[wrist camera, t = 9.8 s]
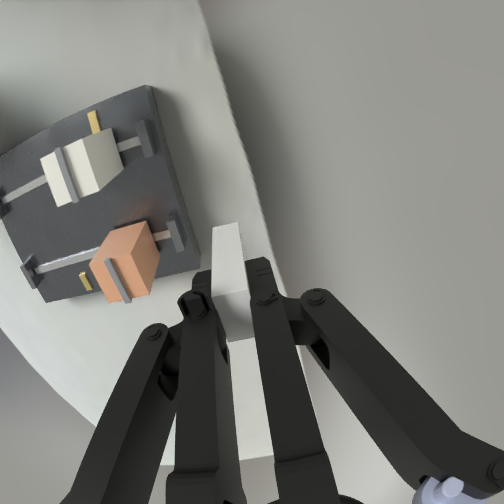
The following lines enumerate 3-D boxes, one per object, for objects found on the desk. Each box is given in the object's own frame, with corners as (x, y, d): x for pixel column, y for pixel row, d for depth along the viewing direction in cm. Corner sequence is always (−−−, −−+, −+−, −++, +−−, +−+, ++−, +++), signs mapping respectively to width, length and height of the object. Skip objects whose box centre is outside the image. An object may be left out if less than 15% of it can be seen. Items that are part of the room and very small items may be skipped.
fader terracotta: (109, 229, 20) (86, 266, 16) (146, 219, 20) (128, 254, 15) (126, 266, 21) (108, 307, 17) (160, 257, 21) (149, 299, 17)
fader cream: (73, 141, 16) (36, 158, 12) (110, 126, 16) (79, 137, 12) (87, 183, 18) (56, 210, 14) (124, 170, 18) (98, 194, 14)
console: (-5, 162, 17) (-24, 172, 15) (151, 85, 17) (140, 84, 15) (53, 290, 24) (42, 309, 22) (200, 255, 24) (199, 275, 22)
